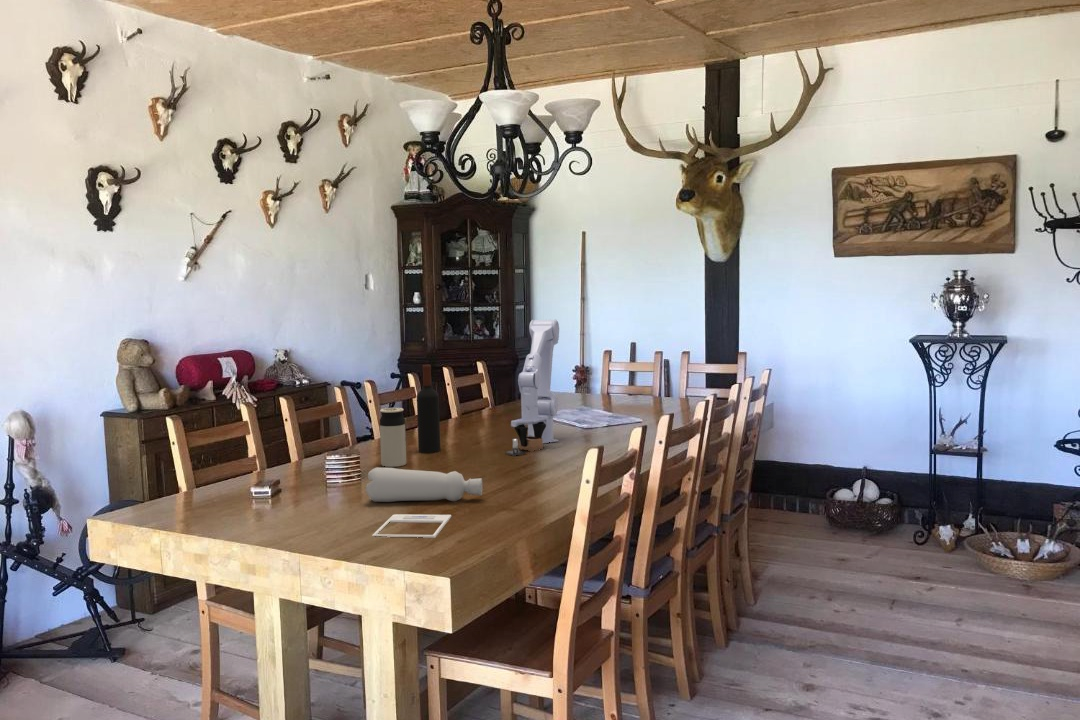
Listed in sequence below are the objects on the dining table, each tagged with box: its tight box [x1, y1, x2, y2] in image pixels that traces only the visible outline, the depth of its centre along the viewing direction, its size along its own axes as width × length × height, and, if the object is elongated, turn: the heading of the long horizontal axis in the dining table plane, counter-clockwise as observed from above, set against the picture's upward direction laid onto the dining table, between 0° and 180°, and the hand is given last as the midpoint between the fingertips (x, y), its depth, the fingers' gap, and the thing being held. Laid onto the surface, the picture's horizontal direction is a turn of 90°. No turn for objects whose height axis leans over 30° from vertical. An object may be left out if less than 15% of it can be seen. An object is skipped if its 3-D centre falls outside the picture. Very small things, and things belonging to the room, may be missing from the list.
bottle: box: [365, 467, 483, 503], centre depth 233 cm, size 9×9×30 cm
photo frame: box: [371, 513, 452, 539], centre depth 208 cm, size 15×1×18 cm
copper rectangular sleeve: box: [518, 435, 544, 452], centre depth 302 cm, size 7×5×4 cm
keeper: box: [505, 438, 527, 457], centre depth 293 cm, size 5×5×5 cm
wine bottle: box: [416, 363, 441, 454], centre depth 302 cm, size 8×8×30 cm
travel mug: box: [379, 407, 407, 468], centre depth 280 cm, size 8×8×18 cm
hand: (530, 445), depth 302 cm, fingers closed on copper rectangular sleeve, 5 cm apart
